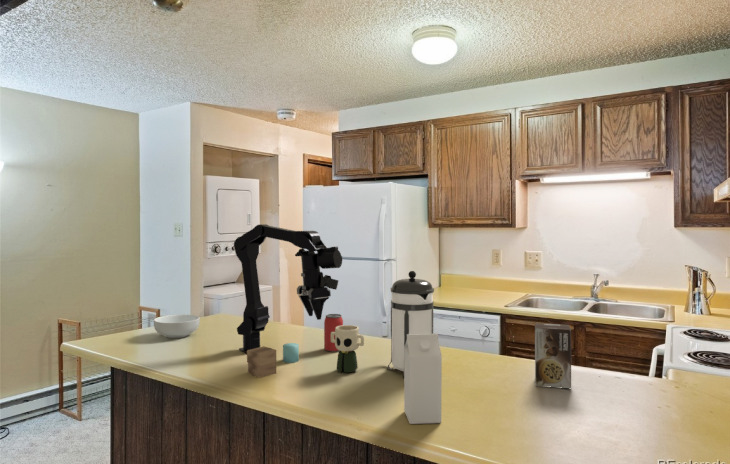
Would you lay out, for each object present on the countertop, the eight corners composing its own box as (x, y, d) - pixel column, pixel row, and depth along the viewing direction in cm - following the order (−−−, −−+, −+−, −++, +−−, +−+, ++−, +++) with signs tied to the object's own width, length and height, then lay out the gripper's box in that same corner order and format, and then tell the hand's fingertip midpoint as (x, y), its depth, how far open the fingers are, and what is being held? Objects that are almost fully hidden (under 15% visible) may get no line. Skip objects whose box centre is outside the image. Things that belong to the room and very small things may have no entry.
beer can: (344, 347, 164) (344, 313, 164) (341, 352, 158) (341, 317, 157) (326, 346, 165) (326, 313, 165) (322, 352, 158) (322, 317, 158)
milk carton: (404, 411, 108) (404, 330, 108) (434, 410, 109) (434, 330, 109) (409, 424, 101) (409, 338, 101) (441, 423, 102) (441, 337, 102)
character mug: (325, 372, 137) (325, 328, 137) (336, 365, 144) (336, 323, 143) (358, 376, 133) (358, 331, 133) (368, 369, 139) (368, 326, 139)
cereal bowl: (190, 341, 172) (189, 322, 172) (145, 341, 173) (145, 322, 172) (206, 331, 189) (206, 313, 189) (165, 330, 190) (165, 313, 189)
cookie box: (569, 382, 128) (569, 324, 128) (571, 390, 122) (572, 329, 122) (534, 378, 131) (534, 322, 131) (534, 386, 125) (535, 326, 125)
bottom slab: (248, 373, 137) (248, 361, 137) (266, 369, 141) (266, 357, 140) (257, 378, 132) (257, 366, 132) (276, 374, 136) (276, 362, 136)
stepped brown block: (247, 362, 136) (247, 350, 136) (263, 357, 140) (263, 346, 140) (259, 366, 132) (259, 354, 132) (276, 361, 137) (276, 349, 137)
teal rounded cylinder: (280, 360, 149) (280, 344, 149) (293, 357, 152) (293, 342, 152) (288, 363, 145) (288, 348, 145) (301, 360, 148) (301, 345, 148)
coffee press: (444, 366, 142) (444, 269, 141) (428, 383, 128) (429, 274, 127) (391, 359, 149) (391, 267, 149) (371, 374, 135) (371, 271, 134)
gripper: (344, 267, 144) (348, 317, 144) (326, 266, 161) (329, 311, 161) (309, 271, 140) (313, 323, 140) (294, 269, 157) (298, 315, 157)
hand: (314, 317), depth 149 cm, fingers open, 9 cm apart
